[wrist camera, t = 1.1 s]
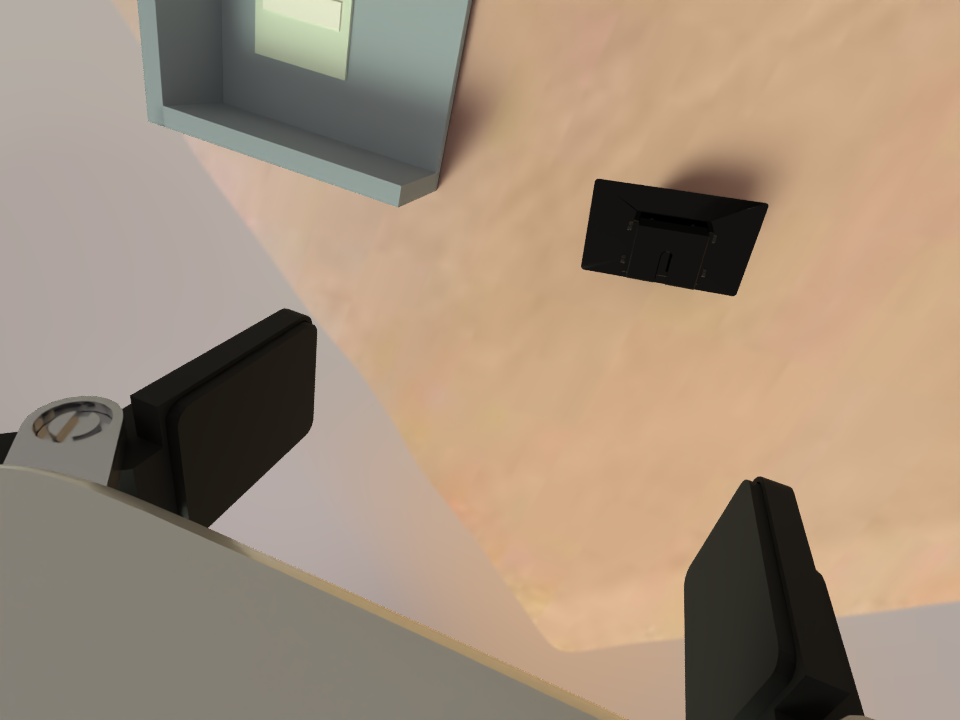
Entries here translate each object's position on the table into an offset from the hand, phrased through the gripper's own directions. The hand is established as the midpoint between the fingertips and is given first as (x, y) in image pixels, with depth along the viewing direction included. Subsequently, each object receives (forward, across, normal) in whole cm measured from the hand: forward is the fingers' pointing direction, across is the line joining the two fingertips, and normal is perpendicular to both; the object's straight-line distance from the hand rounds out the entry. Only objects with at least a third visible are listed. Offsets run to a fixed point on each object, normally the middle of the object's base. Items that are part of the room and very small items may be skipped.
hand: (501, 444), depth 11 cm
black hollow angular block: (+25, -3, +1) cm, 25 cm away
